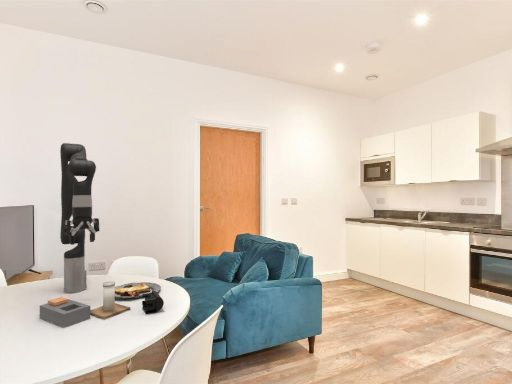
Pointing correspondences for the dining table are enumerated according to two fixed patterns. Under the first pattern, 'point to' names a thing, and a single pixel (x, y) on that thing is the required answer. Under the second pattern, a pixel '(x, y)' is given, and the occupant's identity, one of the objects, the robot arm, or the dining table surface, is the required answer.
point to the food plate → (135, 289)
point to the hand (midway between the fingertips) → (82, 243)
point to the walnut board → (107, 314)
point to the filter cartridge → (108, 296)
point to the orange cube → (58, 301)
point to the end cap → (152, 302)
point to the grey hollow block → (65, 313)
